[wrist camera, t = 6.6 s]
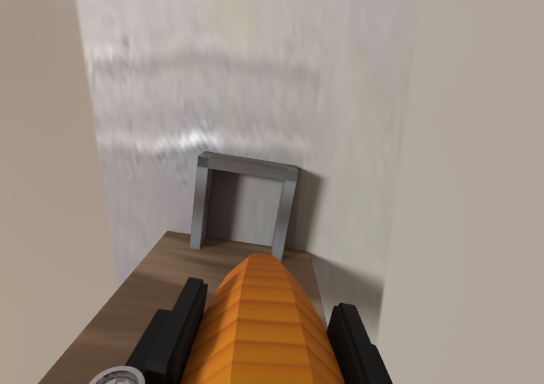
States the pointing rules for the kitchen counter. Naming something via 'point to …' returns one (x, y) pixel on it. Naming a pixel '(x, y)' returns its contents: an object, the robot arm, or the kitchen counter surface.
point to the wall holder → (181, 274)
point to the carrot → (261, 331)
